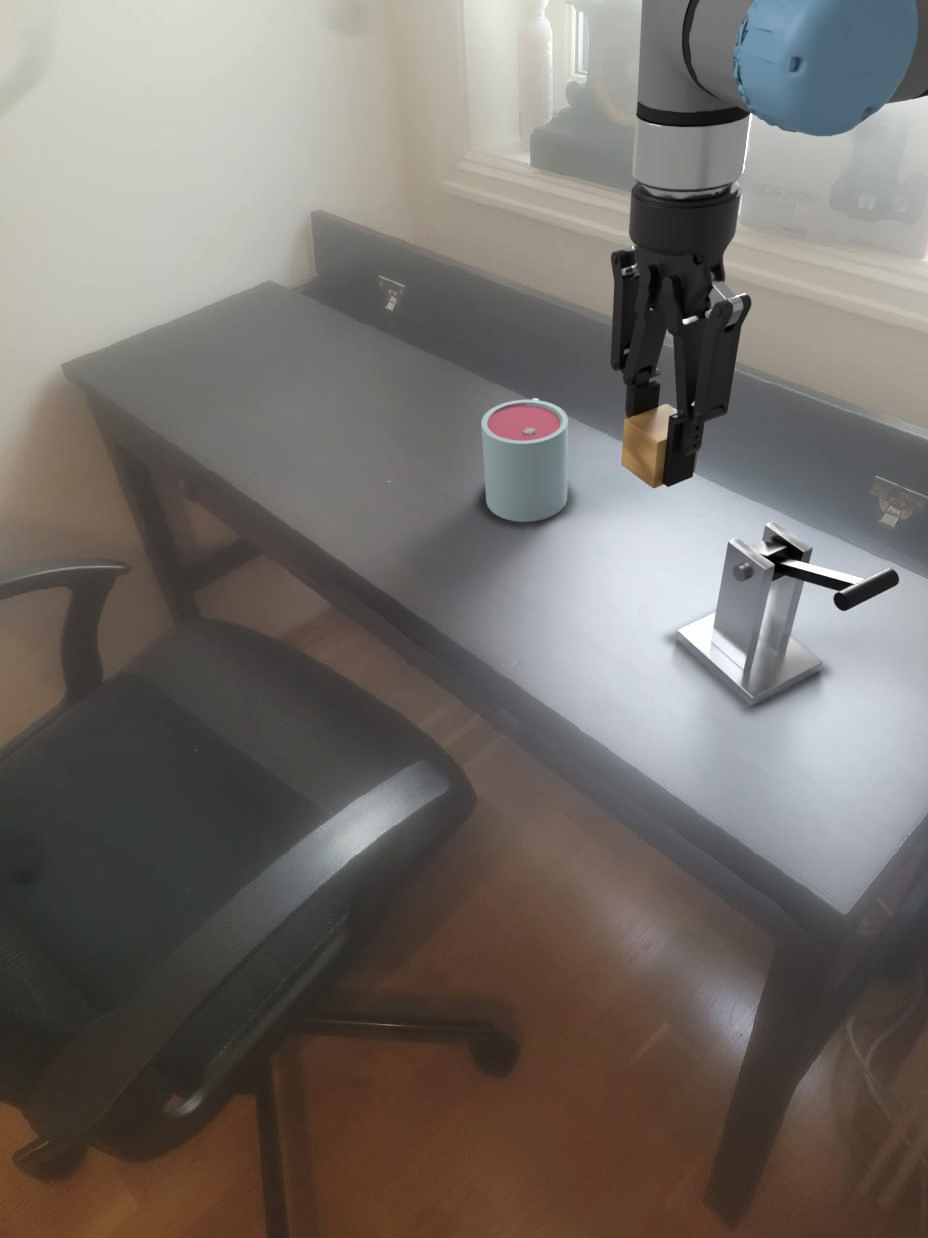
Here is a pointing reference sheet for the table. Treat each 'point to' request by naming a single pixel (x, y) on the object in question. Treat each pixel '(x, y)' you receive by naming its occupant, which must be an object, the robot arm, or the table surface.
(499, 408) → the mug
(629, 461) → the block
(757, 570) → the bracket
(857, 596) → the lever
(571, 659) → the table surface
